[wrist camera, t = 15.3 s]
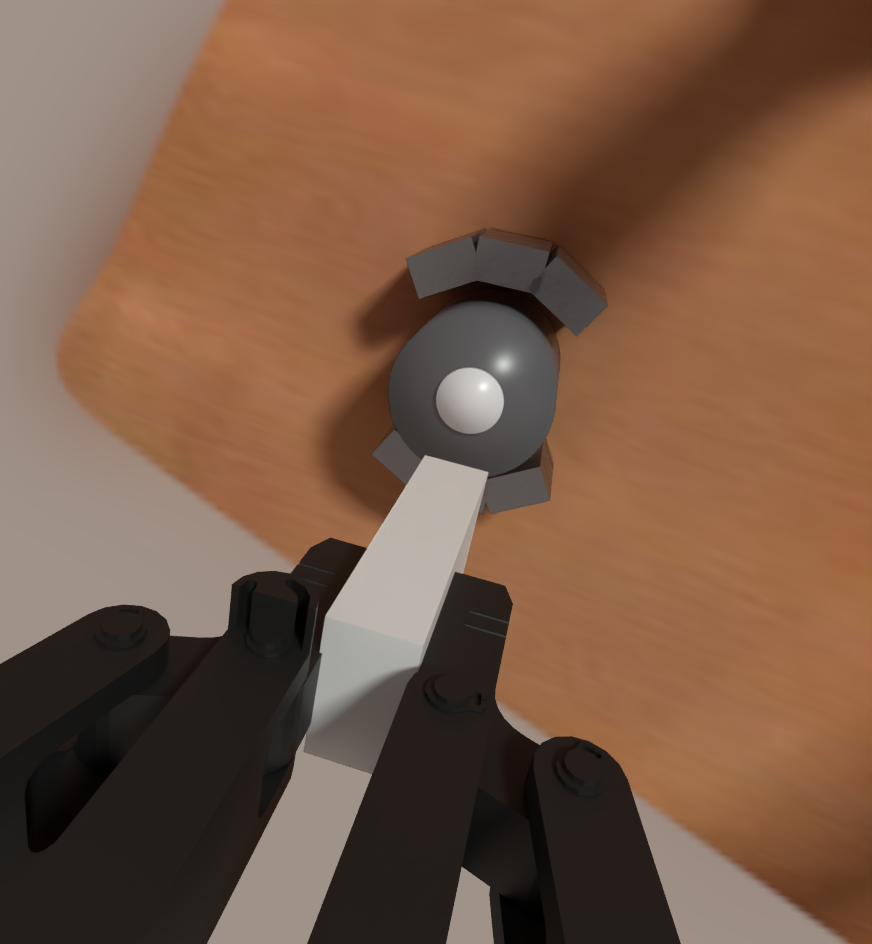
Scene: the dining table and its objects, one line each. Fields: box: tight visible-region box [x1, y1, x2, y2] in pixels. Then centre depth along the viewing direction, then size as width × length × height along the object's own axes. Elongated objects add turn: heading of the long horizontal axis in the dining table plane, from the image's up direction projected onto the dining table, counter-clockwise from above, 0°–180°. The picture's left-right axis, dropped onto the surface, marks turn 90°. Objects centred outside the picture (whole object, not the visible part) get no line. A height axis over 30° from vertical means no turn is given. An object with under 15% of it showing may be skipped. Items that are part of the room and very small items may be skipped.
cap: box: [388, 289, 560, 477], centre depth 28 cm, size 6×6×6 cm
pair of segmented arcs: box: [372, 228, 608, 514], centre depth 29 cm, size 10×7×4 cm
